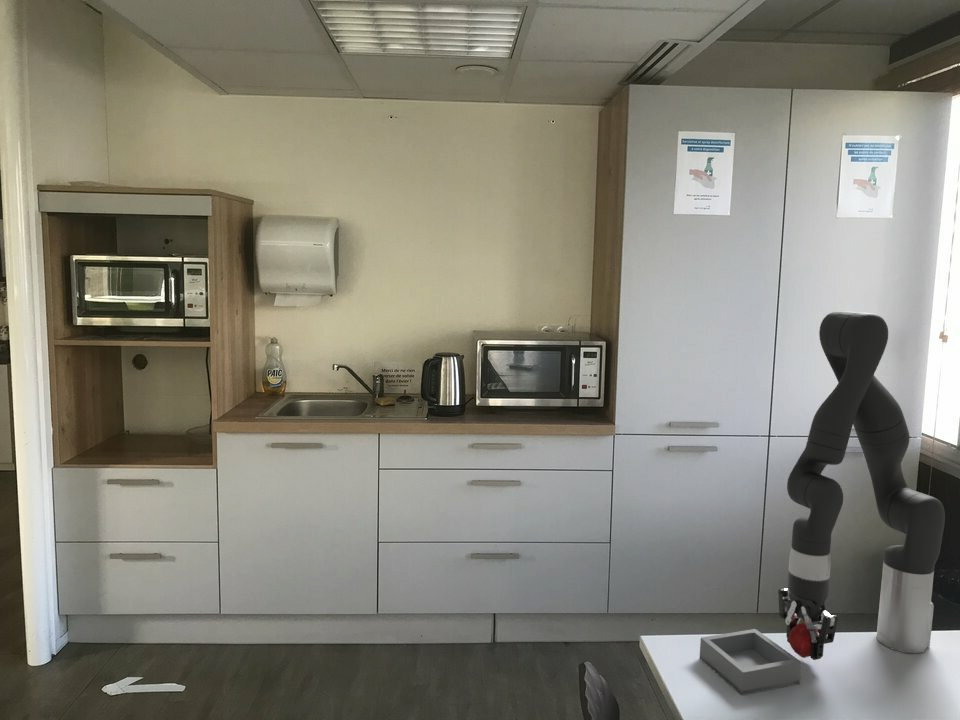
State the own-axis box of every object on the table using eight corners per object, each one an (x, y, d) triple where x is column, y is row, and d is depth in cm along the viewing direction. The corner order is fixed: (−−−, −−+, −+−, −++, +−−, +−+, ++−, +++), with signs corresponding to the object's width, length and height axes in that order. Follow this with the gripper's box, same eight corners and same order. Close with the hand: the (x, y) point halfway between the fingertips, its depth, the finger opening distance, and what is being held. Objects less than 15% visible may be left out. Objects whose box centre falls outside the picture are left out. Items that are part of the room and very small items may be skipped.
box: (753, 649, 150) (755, 628, 149) (799, 683, 137) (801, 661, 137) (699, 658, 146) (700, 637, 145) (741, 695, 133) (743, 672, 133)
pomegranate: (824, 665, 142) (827, 627, 141) (794, 665, 142) (797, 627, 141) (811, 650, 148) (813, 613, 147) (783, 649, 148) (785, 613, 147)
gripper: (852, 583, 137) (846, 666, 139) (798, 555, 151) (793, 630, 153) (821, 588, 135) (815, 672, 137) (768, 559, 149) (764, 635, 151)
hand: (803, 649), depth 145 cm, fingers closed on pomegranate, 6 cm apart
